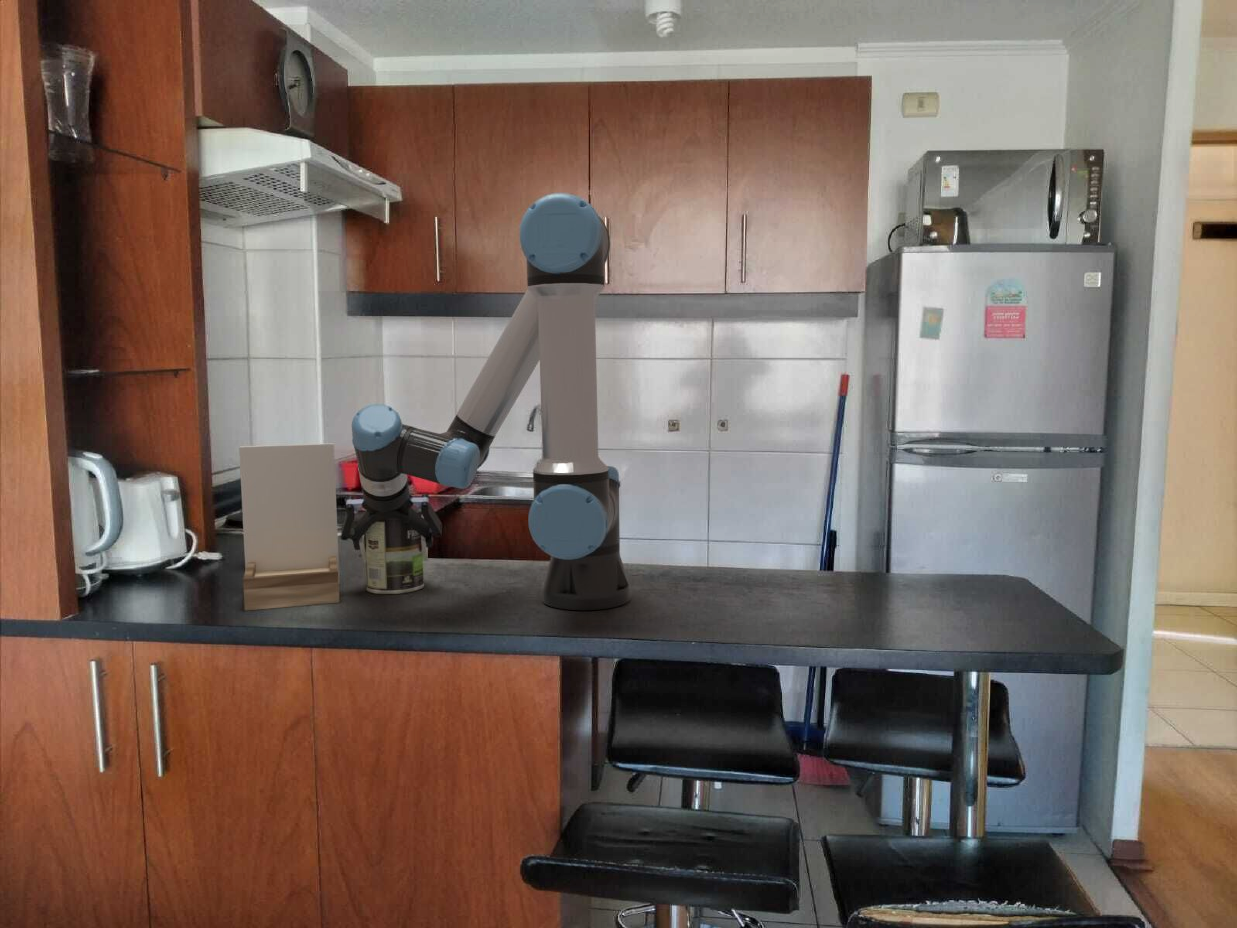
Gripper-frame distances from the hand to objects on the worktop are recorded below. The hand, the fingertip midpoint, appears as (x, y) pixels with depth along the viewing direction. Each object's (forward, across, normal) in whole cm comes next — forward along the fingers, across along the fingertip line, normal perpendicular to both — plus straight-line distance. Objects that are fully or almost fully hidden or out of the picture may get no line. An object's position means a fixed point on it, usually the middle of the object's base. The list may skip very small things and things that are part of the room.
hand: (395, 555), depth 171 cm
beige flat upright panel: (+5, -19, -3) cm, 19 cm away
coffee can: (+2, 0, -6) cm, 6 cm away
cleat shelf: (0, -17, -8) cm, 19 cm away
